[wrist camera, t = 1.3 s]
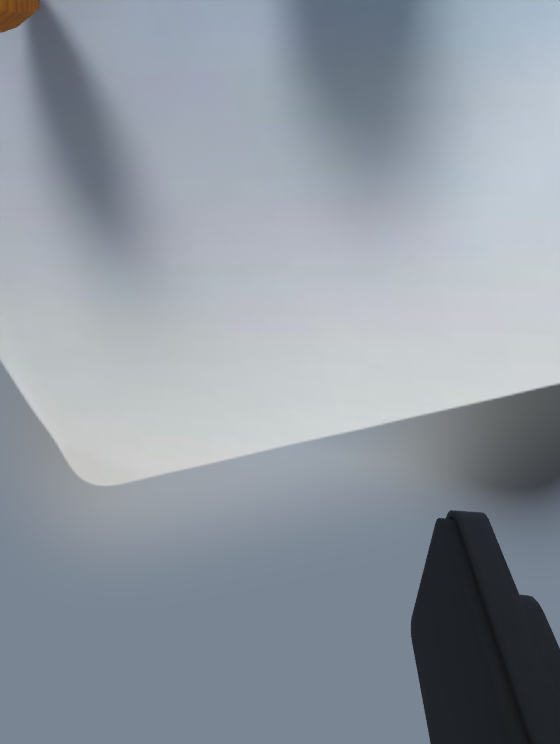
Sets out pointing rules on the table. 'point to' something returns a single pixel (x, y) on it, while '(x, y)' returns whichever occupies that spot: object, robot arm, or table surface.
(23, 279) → the table surface
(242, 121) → the table surface
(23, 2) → the carrot
